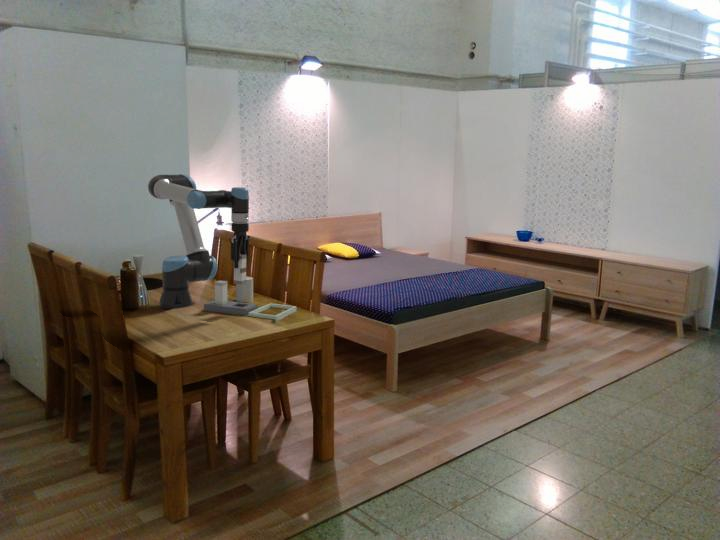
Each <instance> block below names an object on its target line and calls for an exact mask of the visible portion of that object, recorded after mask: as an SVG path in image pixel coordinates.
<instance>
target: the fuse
mask: <svg viewBox="0 0 720 540" xmlns="http://www.w3.org/2000/svg"><path fill="white" fill-rule="evenodd" d="M228 282H229V281H228V280H217V281H214V297H215V298H214V300H215V304H220V305H224V304H227V301H228V284H229V283H228Z"/></svg>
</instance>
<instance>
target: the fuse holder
mask: <svg viewBox="0 0 720 540" xmlns="http://www.w3.org/2000/svg"><path fill="white" fill-rule="evenodd" d="M256 309H258V304H256V303H250V302H238V301H233V300H232V301H231V300H227V304H224V305H220V304H215V299H214V300H212V301H207V302H206V303H203V311H208V312H215V313H221V314H229V315H239V316H245V317H247V316H248V313H249V312H251V311H253V310H256Z"/></svg>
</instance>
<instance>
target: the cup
mask: <svg viewBox="0 0 720 540" xmlns="http://www.w3.org/2000/svg"><path fill="white" fill-rule="evenodd" d="M246 280H247V283H245V284H235V285H236V286H235V290H236V292H235V294H236V295H235V297H236V299H235V300H236V301H235V302H241V303H250V302H252V303H253V302H254V278H253V277H251V276H246Z"/></svg>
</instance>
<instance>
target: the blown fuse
mask: <svg viewBox="0 0 720 540" xmlns="http://www.w3.org/2000/svg"><path fill="white" fill-rule="evenodd" d="M246 258H247V255H246V254H240V258H239V261H240V276H239V275H234V274H233V284H234V285H236V284H245V283H247V280H246V277H247V259H246Z"/></svg>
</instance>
